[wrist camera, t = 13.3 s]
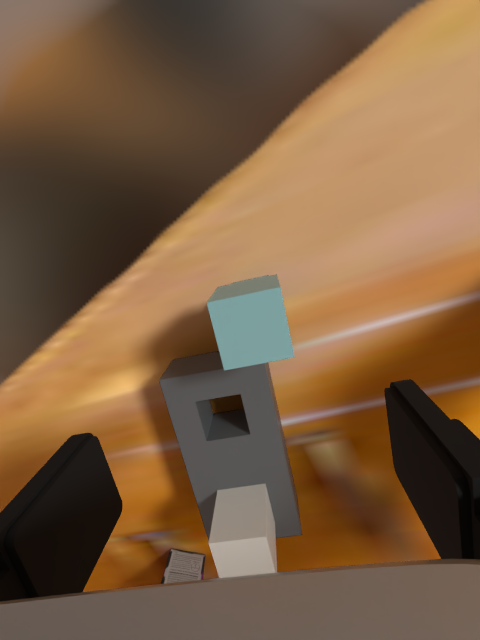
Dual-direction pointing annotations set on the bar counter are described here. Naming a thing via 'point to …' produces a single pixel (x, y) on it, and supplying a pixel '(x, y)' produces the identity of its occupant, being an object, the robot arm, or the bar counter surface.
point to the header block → (234, 460)
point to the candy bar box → (183, 567)
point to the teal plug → (250, 322)
